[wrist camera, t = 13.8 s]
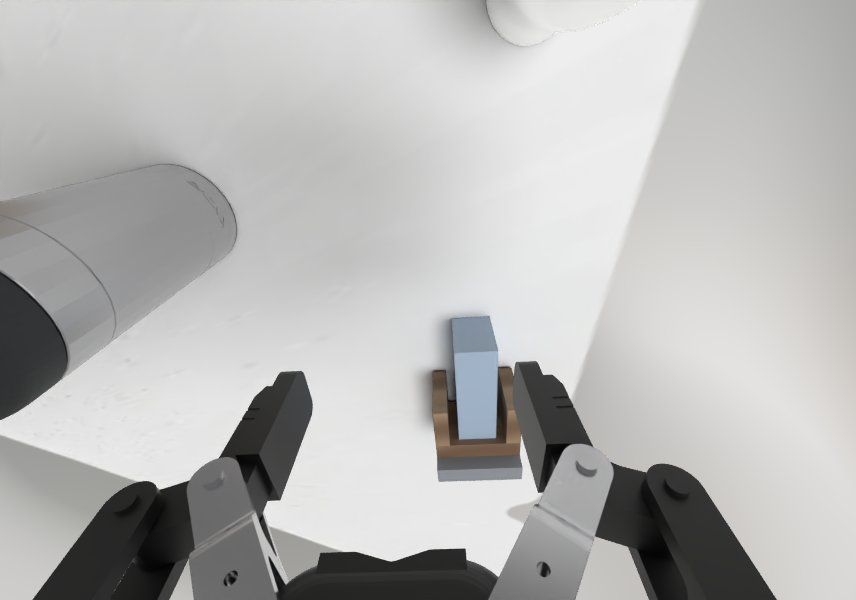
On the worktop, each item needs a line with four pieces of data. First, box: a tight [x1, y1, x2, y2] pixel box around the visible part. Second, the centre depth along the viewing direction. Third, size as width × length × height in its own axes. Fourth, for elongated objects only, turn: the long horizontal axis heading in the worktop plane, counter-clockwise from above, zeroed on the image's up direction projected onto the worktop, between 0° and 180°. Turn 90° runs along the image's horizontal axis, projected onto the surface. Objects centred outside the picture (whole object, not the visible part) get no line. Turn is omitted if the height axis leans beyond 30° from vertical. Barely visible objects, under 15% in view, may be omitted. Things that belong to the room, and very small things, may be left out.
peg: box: [452, 316, 498, 440], centre depth 37 cm, size 12×4×6 cm, turn 5°
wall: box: [437, 455, 522, 482], centre depth 41 cm, size 2×9×8 cm, turn 94°
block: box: [433, 368, 521, 458], centre depth 39 cm, size 7×9×6 cm
